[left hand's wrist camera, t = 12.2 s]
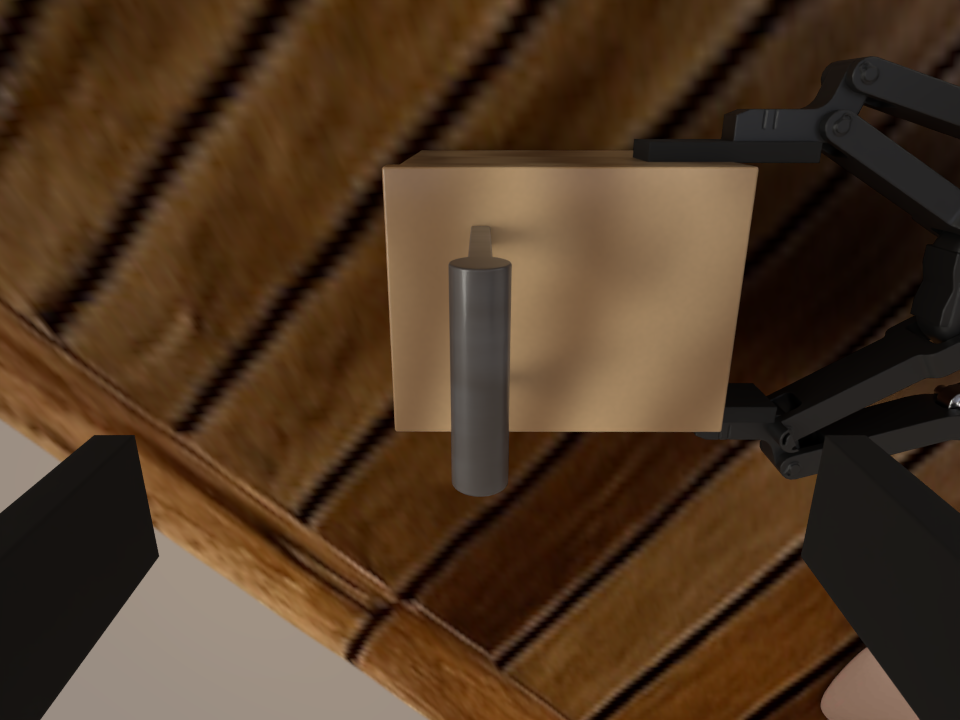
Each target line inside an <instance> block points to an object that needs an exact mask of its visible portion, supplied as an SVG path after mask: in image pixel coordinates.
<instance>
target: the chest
mask: <svg viewBox="0 0 960 720" xmlns="http://www.w3.org/2000/svg"><path fill="white" fill-rule="evenodd" d="M400 165H746V164H740V163H735V162H646V161H643V160H640V159H636V158H633V150H422V151H420V152H419V153H417V154H416V155H414V156H413V157H411V158H410V159H408V160H406V161H405V162H403V163H402V164H400Z"/></svg>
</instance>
